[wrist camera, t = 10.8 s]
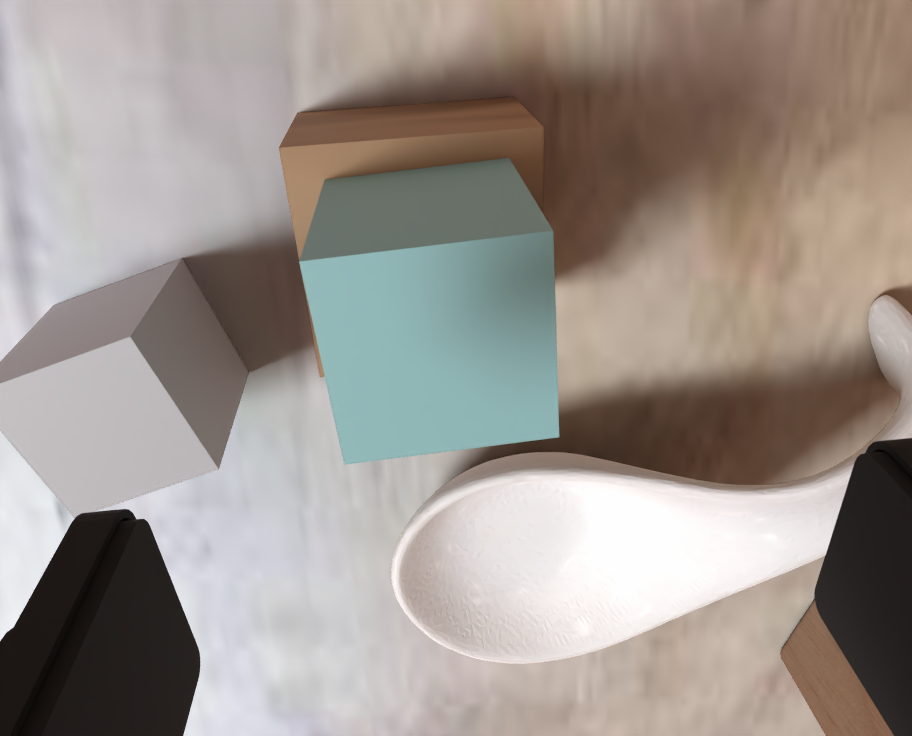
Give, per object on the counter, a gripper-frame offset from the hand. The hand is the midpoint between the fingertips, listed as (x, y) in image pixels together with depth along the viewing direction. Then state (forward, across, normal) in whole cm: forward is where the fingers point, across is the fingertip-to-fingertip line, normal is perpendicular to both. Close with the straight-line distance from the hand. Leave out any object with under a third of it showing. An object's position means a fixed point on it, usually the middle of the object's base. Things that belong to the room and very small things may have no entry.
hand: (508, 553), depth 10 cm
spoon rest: (+17, -8, +13) cm, 23 cm away
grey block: (+17, +11, +5) cm, 21 cm away
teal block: (+12, +1, +1) cm, 12 cm away
